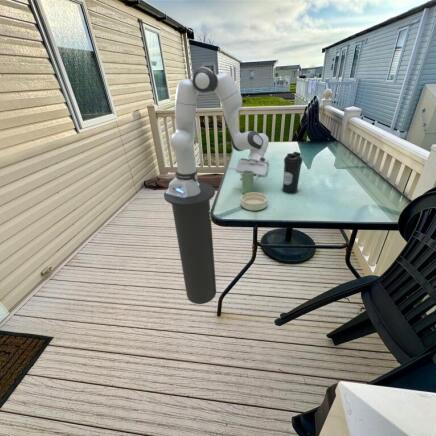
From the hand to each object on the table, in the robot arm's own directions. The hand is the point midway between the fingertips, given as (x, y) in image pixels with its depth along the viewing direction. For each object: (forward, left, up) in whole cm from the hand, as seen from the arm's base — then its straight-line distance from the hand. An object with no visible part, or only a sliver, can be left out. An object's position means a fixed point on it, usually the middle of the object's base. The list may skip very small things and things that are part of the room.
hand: (247, 181), depth 143 cm
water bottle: (+24, +11, -8) cm, 28 cm away
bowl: (+7, -13, -8) cm, 17 cm away
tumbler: (0, +1, -7) cm, 7 cm away
